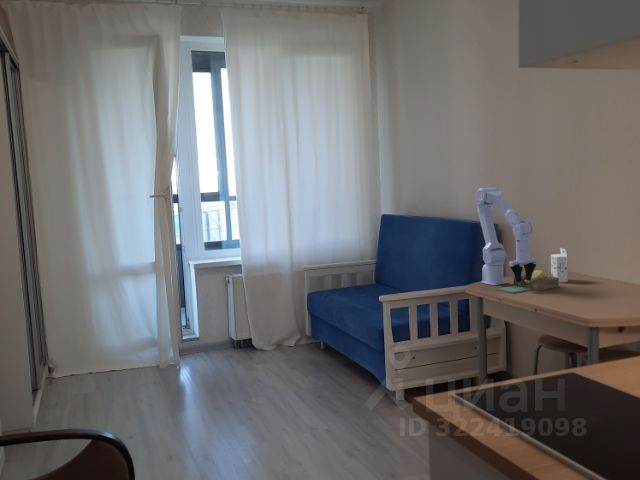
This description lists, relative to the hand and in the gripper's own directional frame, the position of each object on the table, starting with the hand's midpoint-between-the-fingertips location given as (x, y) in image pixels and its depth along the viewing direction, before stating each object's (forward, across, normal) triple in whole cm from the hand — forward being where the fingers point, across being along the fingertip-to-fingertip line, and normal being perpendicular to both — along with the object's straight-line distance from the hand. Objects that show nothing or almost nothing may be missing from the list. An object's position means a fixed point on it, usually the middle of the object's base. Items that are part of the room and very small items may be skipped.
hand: (523, 281), depth 270 cm
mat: (+3, -6, 0) cm, 7 cm away
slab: (+1, +7, 0) cm, 7 cm away
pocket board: (+3, +7, 0) cm, 8 cm away
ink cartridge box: (+3, +24, +3) cm, 25 cm away
